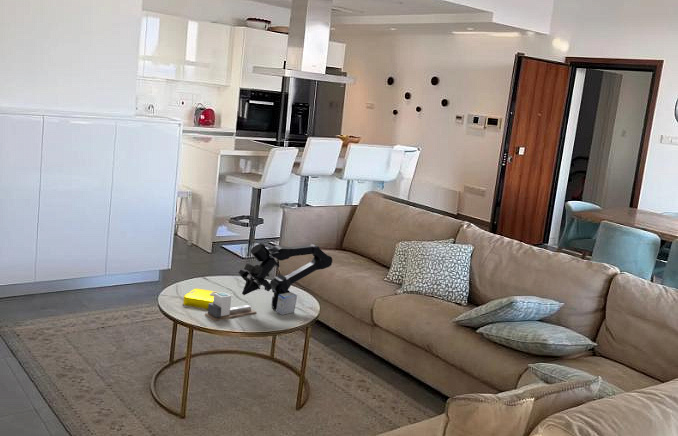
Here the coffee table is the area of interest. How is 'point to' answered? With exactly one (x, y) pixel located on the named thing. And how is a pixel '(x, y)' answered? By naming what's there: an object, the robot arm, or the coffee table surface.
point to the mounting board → (232, 315)
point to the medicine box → (286, 303)
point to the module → (223, 302)
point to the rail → (216, 310)
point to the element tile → (199, 298)
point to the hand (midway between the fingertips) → (242, 294)
